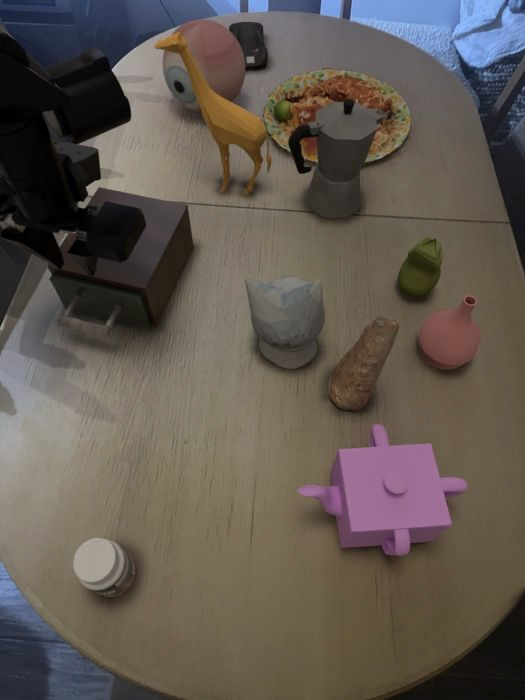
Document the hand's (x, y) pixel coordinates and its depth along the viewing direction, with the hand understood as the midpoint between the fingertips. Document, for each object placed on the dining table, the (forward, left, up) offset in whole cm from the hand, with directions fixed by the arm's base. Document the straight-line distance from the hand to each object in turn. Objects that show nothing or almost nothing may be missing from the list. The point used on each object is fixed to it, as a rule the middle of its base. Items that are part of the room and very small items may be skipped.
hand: (77, 269), depth 62 cm
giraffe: (+7, +33, -13) cm, 36 cm away
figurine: (+25, +5, -13) cm, 29 cm away
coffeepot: (+25, +34, -13) cm, 44 cm away
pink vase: (+46, +9, -13) cm, 49 cm away
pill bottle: (+14, -29, -13) cm, 35 cm away
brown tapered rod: (+35, 0, -13) cm, 37 cm away
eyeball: (-3, +54, -13) cm, 56 cm away
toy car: (-1, +75, -13) cm, 76 cm away
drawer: (0, +6, -12) cm, 13 cm away
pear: (+41, +19, -13) cm, 47 cm away
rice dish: (+22, +56, -13) cm, 62 cm away
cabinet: (0, +10, -13) cm, 17 cm away
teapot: (+40, -14, -13) cm, 44 cm away
